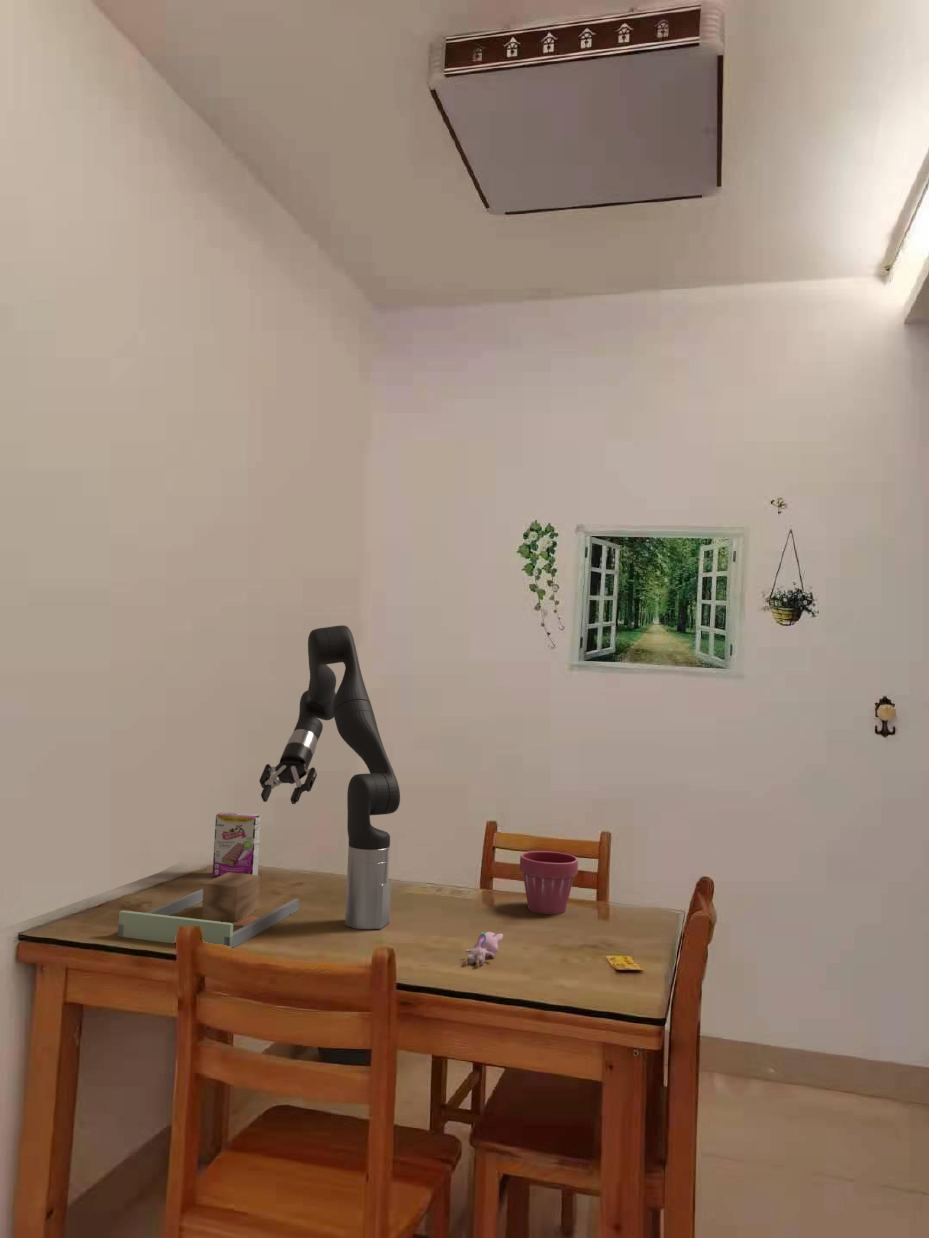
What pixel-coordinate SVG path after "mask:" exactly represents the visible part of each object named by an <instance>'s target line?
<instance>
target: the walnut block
mask: <svg viewBox="0 0 929 1238" xmlns="http://www.w3.org/2000/svg"><path fill="white" fill-rule="evenodd" d="M260 883H261V875H260V874H258V875H252V874H241V873H230V872H228V873H226V874H224V875H221V876H219V877H215V878H212V879H210V880H208V881H206V882H203V888H202V889H203V902H202V909H201V910H202V911H201V920H210V921H218V922H221V921H223V922H225V921H227V923H231V922H236V921H238V920H239V921H241V920H243V919H244V918H243V917H244V916H246V915H247V914H250V913H251V912H252V911H254V910H256V909H258V910H259V908H260V907H259V905H260V889H261V888H260V887H261V885H260ZM250 915H251V914H250ZM246 917H247V916H246ZM242 918H243V919H242ZM240 919H241V920H240ZM239 921H238V922H239ZM236 923H237V922H236Z"/></svg>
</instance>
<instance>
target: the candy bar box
mask: <svg viewBox="0 0 929 1238" xmlns="http://www.w3.org/2000/svg"><path fill="white" fill-rule="evenodd" d="M261 824H262V815H261V814H255V813H243V812H242V813H240V812H226V811H222V812H218V813H217V814H215V825H214V826H215V827H214V829H215V830H214V843H213V844H214V845H213V860H212V861H213V862H212V877H215V878H217V877H219V876H221V875H224V874H226V873H228V872H230V873H241V874H252V875H259V859H260V841H261Z"/></svg>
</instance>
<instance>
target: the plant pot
mask: <svg viewBox="0 0 929 1238" xmlns="http://www.w3.org/2000/svg"><path fill="white" fill-rule="evenodd" d="M578 869H579V860H578V857H577V856H575V855H572V854H569V853H565V852H560V851H552V850H551V851H550V850H549V851H548V850H532V851H523V852H522V853H521V854H520V856H519V870H520V872H521V873H522V878H523V884H524V889H525V897H526V902H527V908H528V910H529V911H531V912H534V913H537V914H544V915H559V914H563V913H565V912H566V910H567V906H568V903H569V898H570V895H571V891H572V886H573V881H574V877H576V876H577V875H578V872H579V871H578Z"/></svg>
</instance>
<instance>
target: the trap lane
mask: <svg viewBox="0 0 929 1238" xmlns="http://www.w3.org/2000/svg"><path fill="white" fill-rule="evenodd" d="M202 901H203V888H200V889H199V890H196V891H193V892H191V893H188V894H186V895H185V896H182V897H179V898H177V899H175V900H173V901H170V902H167V903H166V904H164V905H161V906H158V907H156V908H153V909H151V910H149V911H146V912H142V911H140V912H139V911H131V910H120V911H119V913H118V926H117V928H118V929H117V937H119V938H127V939H134V940H135V939H136V940H143V941H152V942H158V943H160V942H161V943H167V944H174V941H175V936H176V933H177V930H178V927H179V926H200V927H201V929H202V932H203V940H204V941H205V942H208V943H213V944H223V945H227V946H231V947H233V948H232V949H234V948H236V947H237V946H239V945H241V944H243V943H245V942H246V941H248V940H249V939H251V938H253V937H255V936H257V935H259V934H260V933H262V932H263V931H266V930H267V929H269V928H270V926H271V927H272V926H274V925H276V924H278V923H279V922H281V921H283V920H284V918H285V917H286V918H288V917H290V916H291V915H293V914H295V913H297V912H298V911H300V899H299V898H293V899H292V900H290V901H288V902H286V903H285V904H283V905H281V906H279V907H277V908H275V909H273V910H271V911H269V912H268V913H266V914H264V915H262V916H259V917H258V916H252V915H251V916H250V915H248V916H246V917H245V918H243V919H241V920H239V921H238V922H236V923H231V922H221V921H212V920H202V918H200V919H198V918H192V917H183V916H174V915H176V914H178V913H180V912H183V911H184V909H185V910H187V909H189V908H191V907H193V906H195V905H196V906H197V905H198V904H200V903H203V902H202ZM186 908H187V909H186ZM296 911H297V912H296ZM294 912H295V913H294ZM172 914H174V915H172ZM290 914H291V915H290ZM170 915H171V916H170ZM289 915H290V916H289ZM287 916H288V917H287ZM286 918H285V919H286ZM280 920H281V921H280ZM278 921H279V922H278ZM277 922H278V923H277ZM241 926H244V927H241ZM234 927H240V928H238V929H237V930H234Z"/></svg>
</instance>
